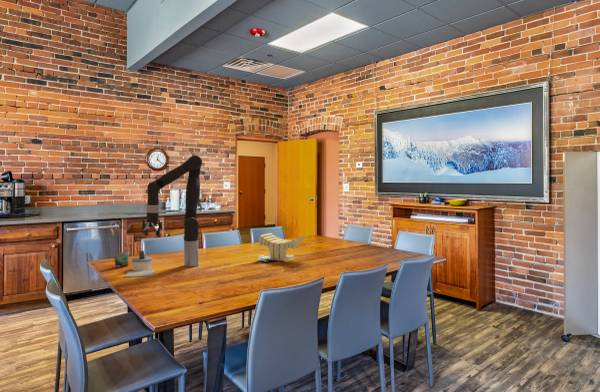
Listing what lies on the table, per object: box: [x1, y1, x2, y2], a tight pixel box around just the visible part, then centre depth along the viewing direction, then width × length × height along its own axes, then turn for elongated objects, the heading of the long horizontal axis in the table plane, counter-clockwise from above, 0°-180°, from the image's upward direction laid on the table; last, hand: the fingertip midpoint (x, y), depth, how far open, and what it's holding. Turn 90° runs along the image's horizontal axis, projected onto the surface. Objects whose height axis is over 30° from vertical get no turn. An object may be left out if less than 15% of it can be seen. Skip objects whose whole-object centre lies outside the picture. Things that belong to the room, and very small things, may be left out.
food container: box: [113, 249, 131, 269], centre depth 248 cm, size 12×6×10 cm, turn 168°
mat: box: [124, 269, 156, 278], centre depth 228 cm, size 16×12×1 cm
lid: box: [131, 250, 153, 263], centre depth 240 cm, size 12×12×6 cm
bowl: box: [132, 260, 152, 271], centre depth 241 cm, size 11×11×6 cm
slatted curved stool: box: [258, 232, 306, 263], centre depth 269 cm, size 30×16×18 cm, turn 61°
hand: (151, 236), depth 243 cm, fingers open, 8 cm apart
